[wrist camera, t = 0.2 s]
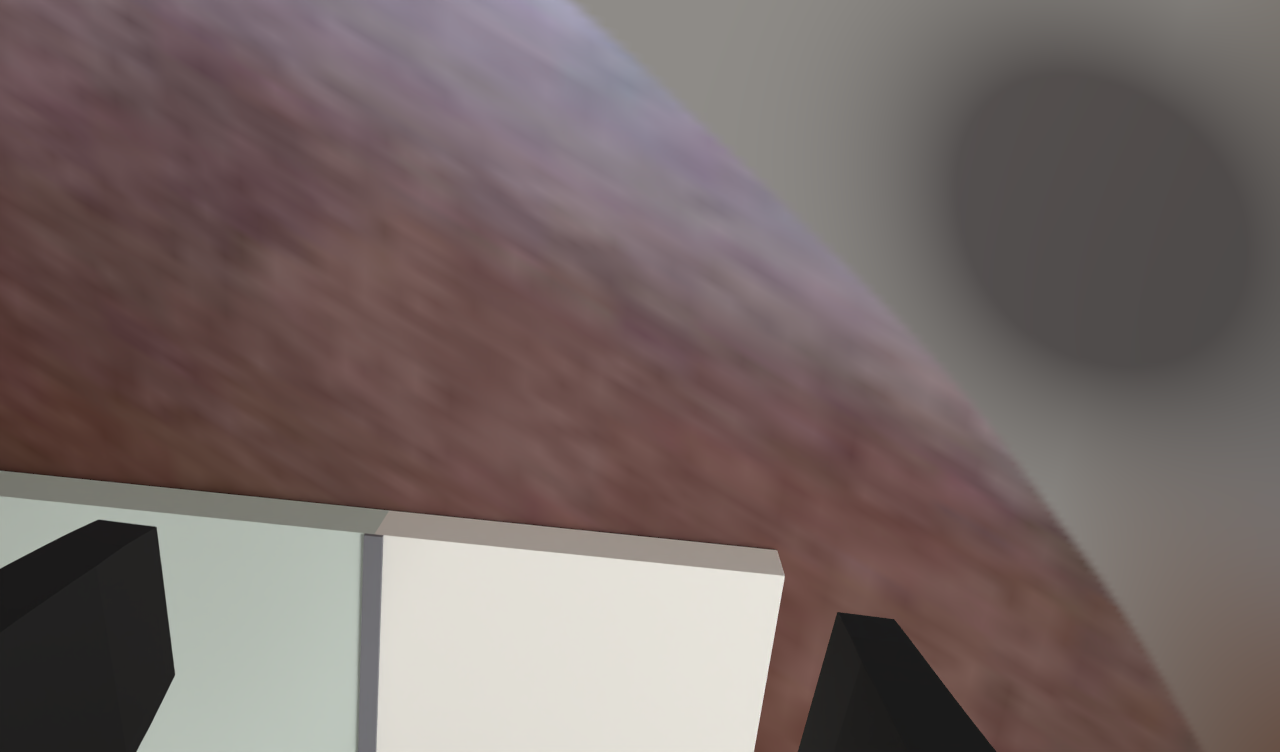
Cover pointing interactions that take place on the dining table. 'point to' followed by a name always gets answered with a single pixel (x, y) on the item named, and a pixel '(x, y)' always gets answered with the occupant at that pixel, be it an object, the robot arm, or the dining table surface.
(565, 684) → the plate
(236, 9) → the dining table surface
